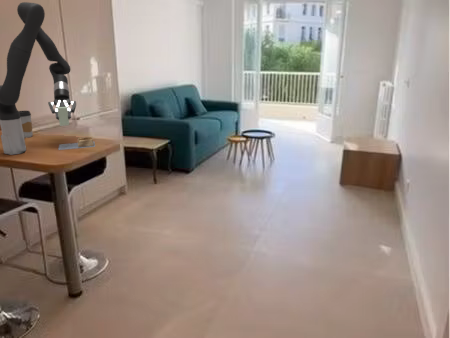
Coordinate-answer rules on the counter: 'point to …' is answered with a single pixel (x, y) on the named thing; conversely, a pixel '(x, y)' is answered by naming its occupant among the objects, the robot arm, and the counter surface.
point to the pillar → (63, 116)
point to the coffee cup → (26, 123)
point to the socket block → (85, 142)
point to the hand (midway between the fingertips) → (63, 118)
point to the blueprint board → (72, 146)
